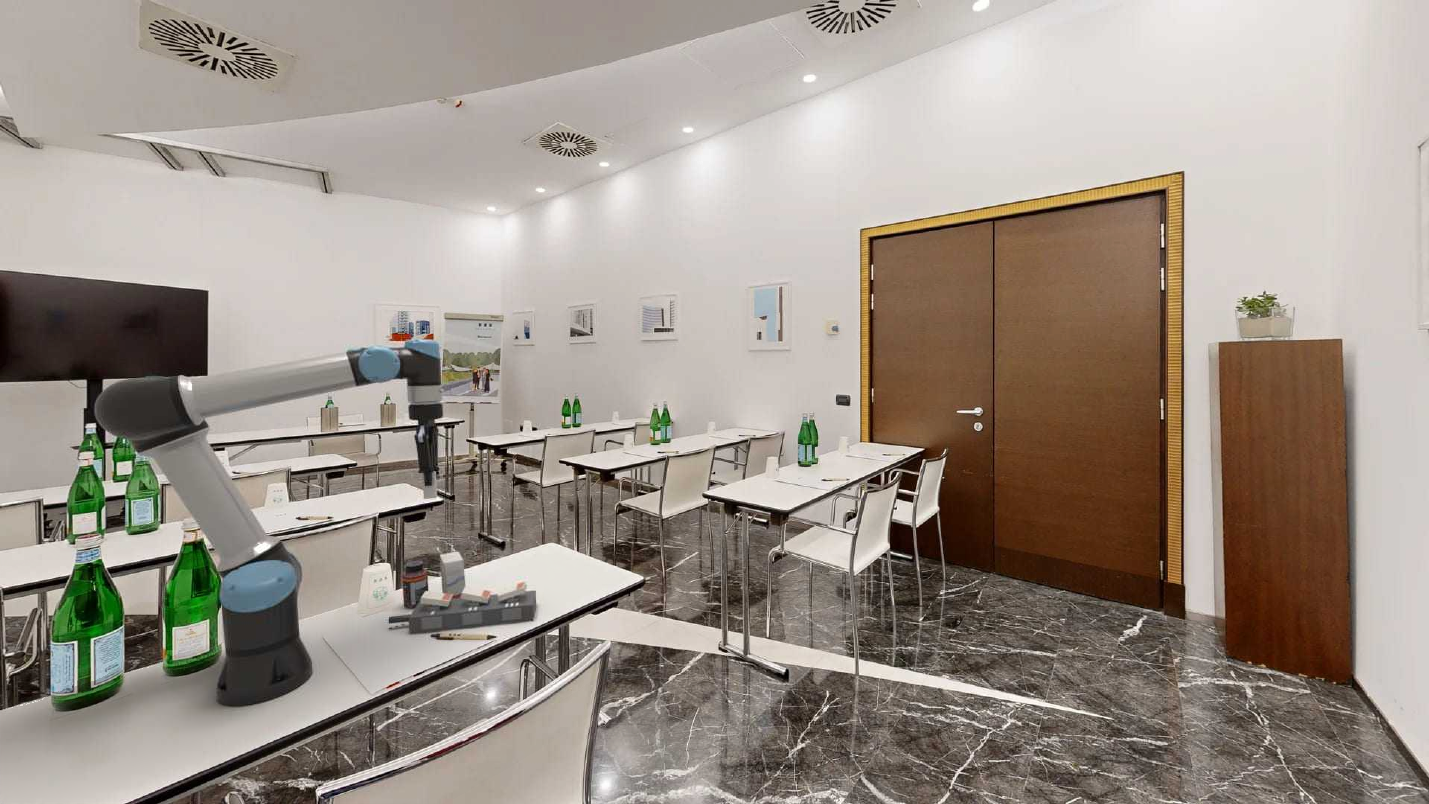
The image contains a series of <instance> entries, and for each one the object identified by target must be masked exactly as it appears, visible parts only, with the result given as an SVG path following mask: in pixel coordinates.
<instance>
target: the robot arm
mask: <svg viewBox="0 0 1429 804" xmlns="http://www.w3.org/2000/svg"><path fill="white" fill-rule="evenodd" d="M440 354H441V353H440V344H439V343H438V341H436V340H435V339H406V340H405V341H404V345H403V347H397V348H396V347H388V346H382V345H375V346H370V347H355V348H353V347H352V348H348V349H347V350H346V351H345V352H344V351H343V352H340V353H339V352H337V353H332V354H327V355H322V356H320V355H319V356H316V357H310V358H304V359H299V360H293V361H288V362H282V363H276V364H270V365H263V366H259V367H253V368H247V369H241V370H235V371H230V372H224V373H218V374H213V375H207V376H201V377H196V378H191V377H187V376H185V375H183V374H182V375H181V374H180V375H175V376H169V377H168V376H167V377H166V376H158V375H152V376H151V375H147V376H143V377H136V378H127V379H123V380H120V381H116V382H114V383H113V384H110V385H109V386H108V387H106V388H105V389H103V390H102V392H101V393H99V395H98V396H97V397H96V400H95V402H94V411H93V412H94V416H95V419H96V421H97V423H98V424H99V426H101V428H102V429H103V430H105V431H106V432H107V433H109V434H111V435H112V436H115V437H117V438H120V439H122V440H128V441H129V443H130V444H131V446H132V447H133V449H134V451H135V452H136V453H137V455H139V456H144V457H147V458H152V459H153V460H154V461H155V462H156V463H155V464H157V466H158V468H159V469H160V470H161V472H162V473H163V475H164V476H165V478H166V479H167V481H168V482H169V484H170V485H171V487H172V488H173V490H174V491H175V493H176V494H177V496H178V497H179V499H180V501H182V503H183V504H184V507H185V508H186V509H187V511H188V512H189V514H190V516H192V519H194V521H195V523H196V524H197V525H198V527H199V529H200V530H201V532H202V533H203V534H204V536H205V537H206V539H207V541H208V542H209V544H210V545H211V546H212V548H213V550H214V551H215V552H216V554H217V555H218V557H219V561H218V564H217V567H216V572H217V573H218V574H219V575H220V578H222V579H221V582H220V590H219V595H218V596H219V601H220V604H221V605H220V606H221V614H222V626H223V627H222V628H223V639H224V649H225V651H224V652H225V657H224V661H223V664H222V668H221V670H220V674H219V676H218V680H217V684H216V690H215V691H216V699H217V701H218V703H220V704H222V705H225V706H232V707H233V706H234V707H235V706H236V707H237V706H247V705H253V704H258V703H262V702H265V701H268V700H271V699H274V698H275V699H276V698H278V697H281V696H282V695H284V694H287V693H289V692H291V691H294V689H295V690H296V689H297V688H298V687H300V686H302V685H303V684H304V683H305V682H307V681H308V680H309V679H310V678H311V676H312V674H313V671H314V670H313V669H314V668H313V660H312V658H311V656H310V654H309V651H308V650H307V648H306V646H305V644H304V643H303V640H302V639H301V636H300V635H301V634H300V624H299V611H298V610H299V607H298V595H299V590H300V586H301V583H302V579H303V571H302V564H301V562H300V561H299V559H298V558H297V557H296V555H295V554H293V553H292V552H290V551H289V550H287V548H286V545H284V543H283V542H282V540H281V539H280V537H279V536H272V535H271V536H270V535H268V534H267V533H266V531H265V529H264V528H263V526H262V524H261V523H260V522H259V520H258V519H257V516H255V514H254V512H253V510H252V509H251V507H250V506H249V504H248V503H247V501H246V500H245V497H244V496H243V495H242V493H241V492H240V490H239V489H238V487H237V486H236V484H235V483H234V482H235V481H233V479H232V477H231V476H230V474H229V473H228V471H227V470H226V468H225V466H224V465H223V463H222V462H221V460H220V458H219V457H218V456H217V454H216V452H215V451H214V449H213V447H212V446H211V444H210V443H209V441H208V440H207V436H208V433H209V431H210V430H211V428H210V425H209V424H208V422H207V421H206V418H211V417H217V416H221V415H225V414H230V413H236V412H240V411H245V410H250V409H251V410H252V409H256V408H260V407H265V406H270V405H274V404H279V403H285V402H289V401H294V400H298V399H304V398H308V397H313V396H318V395H323V394H327V393H332V392H337V391H343V390H347V389H351V388H357V387H362V386H368V385H373V384H377V383H378V384H382V383H386V382H387V383H388V382H390V381H392V380H406V385H407V386H406V391H407V393H406V394H407V402H408V403H410V404H409V405H408V407H407V408H408V418H409V420H411V421H417V427H416V428H415V433H416V434H414V436H413V438H414V441H415V445H416V453H417V461H418V468H419V469H418V470H417V472H418V474H421V475H422V489H423V490H422V491H423V493H422V494H423V500H426V499H427V500H429V499H436V498H438V488H437V487H438V486H437V471H440V467H438V466H439V461H438V460H439V433H440V429H439V427H438V426H437V425H436V421H435V420H439V419H442V418H444V406H443V404H442V403H441V401H443V393H445V389H444V388H442V368H441V367H442V366H441V364H442V363H441V362H442V361H441V359H442V358H441V355H440Z"/></svg>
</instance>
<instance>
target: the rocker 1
mask: <svg viewBox="0 0 1429 804" xmlns="http://www.w3.org/2000/svg"><path fill="white" fill-rule="evenodd" d="M452 596H453V594H446V593H442V592H438V591H429V590H428V591H425V592H424V594H423V595H422V597H421V600H420V603H423V604H431V605H432V606H433V607H434V606H435V605H439V606H449V604H450V602H451V600H452Z"/></svg>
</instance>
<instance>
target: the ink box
mask: <svg viewBox="0 0 1429 804" xmlns="http://www.w3.org/2000/svg"><path fill="white" fill-rule="evenodd" d="M439 559H440V577H441V578H440V579H441V591H442V592H441V593H446V594H453V596H452V599H454V598H461V594H462V592H463V590H464V588H465V587H467V586H466V576H465V575H466V574H465V565H464V564H465V563H464V559H463V557H462V556H461V553H460V552H459V551H454V552H447V553H441V554H440V555H439Z"/></svg>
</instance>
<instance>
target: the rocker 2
mask: <svg viewBox="0 0 1429 804" xmlns="http://www.w3.org/2000/svg"><path fill="white" fill-rule="evenodd" d="M490 595H492V591H490V590H485V589H480V588H475V587H470V586H466V587H465V588H464V590H463V592H462V594H461V599H466V600H472V602H473V603H474V602H475V601H477V602H483V603H488V600H489V598H490Z"/></svg>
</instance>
